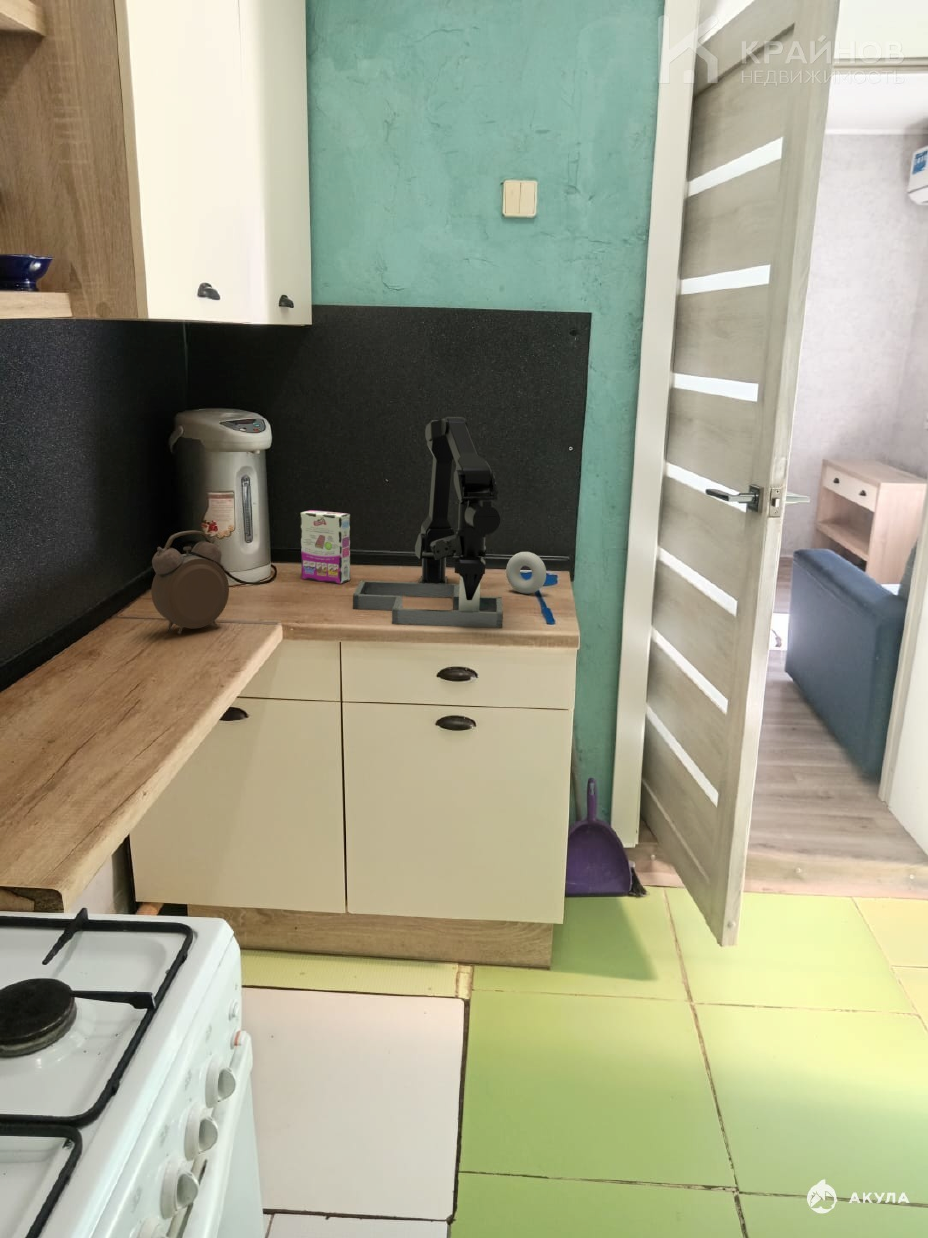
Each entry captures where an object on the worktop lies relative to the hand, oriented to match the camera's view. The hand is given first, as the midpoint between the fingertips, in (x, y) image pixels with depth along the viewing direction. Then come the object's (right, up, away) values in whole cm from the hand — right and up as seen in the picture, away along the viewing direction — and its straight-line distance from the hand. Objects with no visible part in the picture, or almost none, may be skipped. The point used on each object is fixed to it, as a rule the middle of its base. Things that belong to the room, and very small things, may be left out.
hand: (469, 597), depth 209 cm
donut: (+13, +1, +22) cm, 26 cm away
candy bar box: (-35, +5, +29) cm, 45 cm away
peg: (0, -3, +1) cm, 3 cm away
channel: (-9, -3, +6) cm, 11 cm away
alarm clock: (-56, -7, -13) cm, 58 cm away
